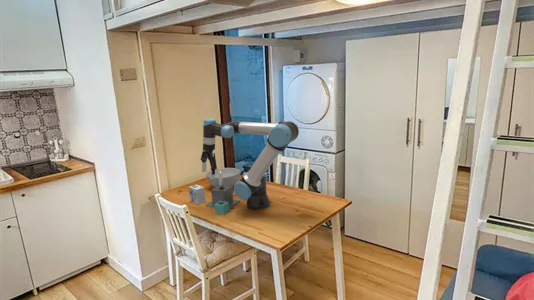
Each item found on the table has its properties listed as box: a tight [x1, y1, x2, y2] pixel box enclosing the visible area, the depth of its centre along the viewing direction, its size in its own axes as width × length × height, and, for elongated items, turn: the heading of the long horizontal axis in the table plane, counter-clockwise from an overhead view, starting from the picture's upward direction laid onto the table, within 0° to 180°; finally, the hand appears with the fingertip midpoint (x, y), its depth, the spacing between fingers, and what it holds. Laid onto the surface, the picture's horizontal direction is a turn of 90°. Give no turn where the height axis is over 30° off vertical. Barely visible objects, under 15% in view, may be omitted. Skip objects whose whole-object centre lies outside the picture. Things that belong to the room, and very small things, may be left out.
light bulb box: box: [188, 184, 207, 205], centre depth 230 cm, size 11×7×11 cm, turn 40°
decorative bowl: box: [205, 167, 242, 188], centre depth 256 cm, size 27×27×12 cm
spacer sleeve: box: [213, 201, 230, 216], centre depth 209 cm, size 6×6×6 cm
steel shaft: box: [218, 171, 224, 189], centre depth 220 cm, size 2×2×16 cm
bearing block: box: [205, 185, 241, 210], centre depth 222 cm, size 18×14×11 cm
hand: (208, 175), depth 213 cm, fingers open, 13 cm apart
